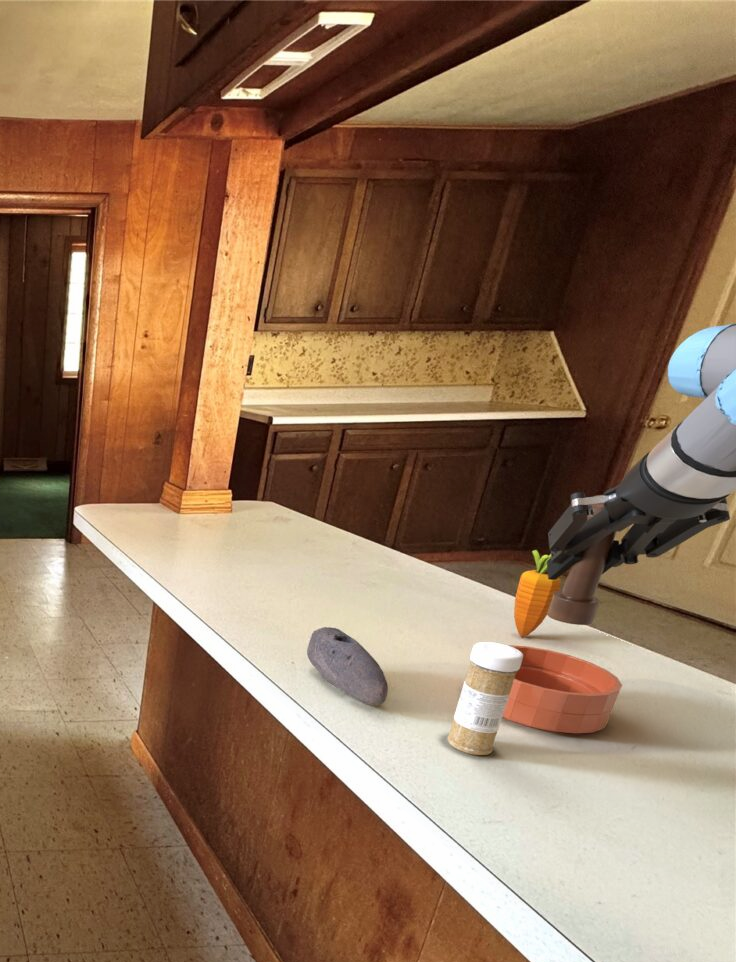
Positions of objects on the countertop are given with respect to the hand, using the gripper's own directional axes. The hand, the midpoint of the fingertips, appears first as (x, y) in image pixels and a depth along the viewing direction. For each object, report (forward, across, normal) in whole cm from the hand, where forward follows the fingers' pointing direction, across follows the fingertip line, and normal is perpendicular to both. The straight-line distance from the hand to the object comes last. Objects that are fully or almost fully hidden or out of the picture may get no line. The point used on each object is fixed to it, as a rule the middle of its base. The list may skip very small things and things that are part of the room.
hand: (568, 571), depth 87 cm
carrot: (+27, -5, -2) cm, 27 cm away
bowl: (+8, +2, +17) cm, 19 cm away
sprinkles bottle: (-1, +12, +26) cm, 29 cm away
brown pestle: (+1, 0, +6) cm, 6 cm away
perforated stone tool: (+7, +24, +18) cm, 31 cm away
